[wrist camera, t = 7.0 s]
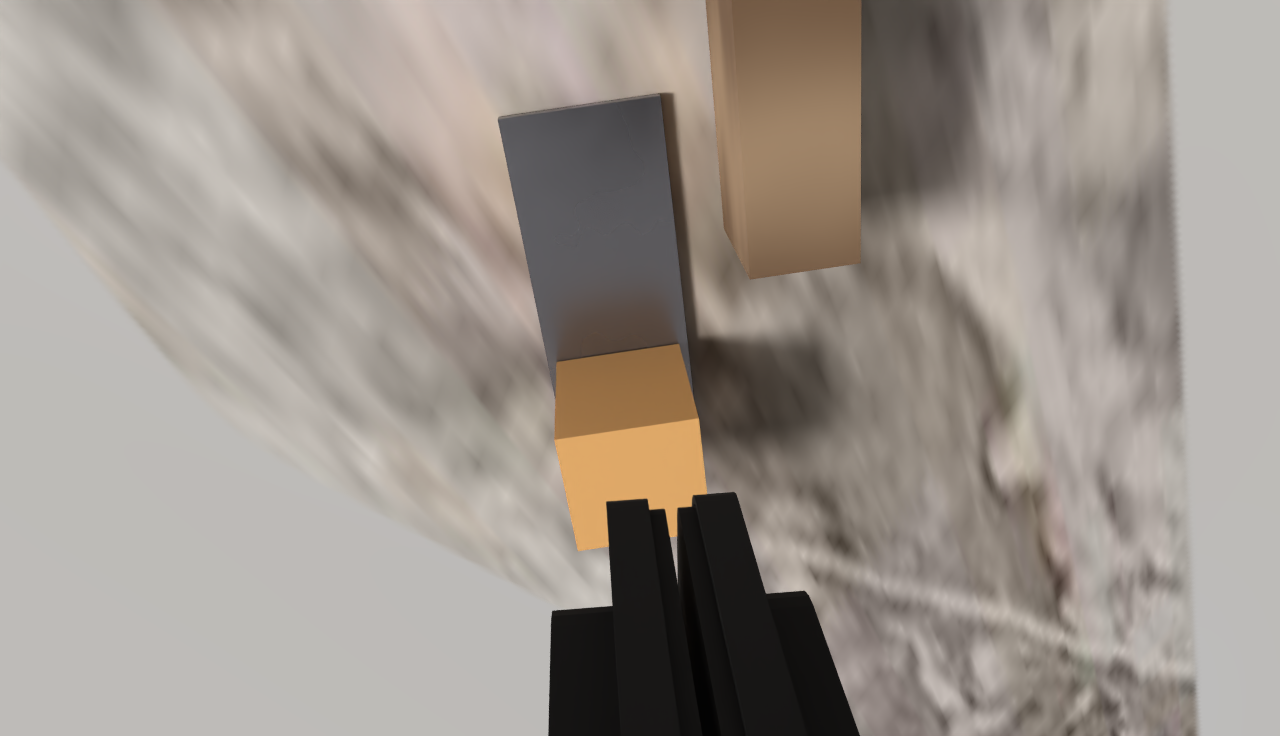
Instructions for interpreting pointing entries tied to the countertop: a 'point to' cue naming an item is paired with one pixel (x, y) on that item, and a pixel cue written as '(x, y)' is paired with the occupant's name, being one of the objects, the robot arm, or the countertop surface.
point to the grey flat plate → (598, 227)
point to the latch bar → (788, 131)
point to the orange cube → (626, 436)
